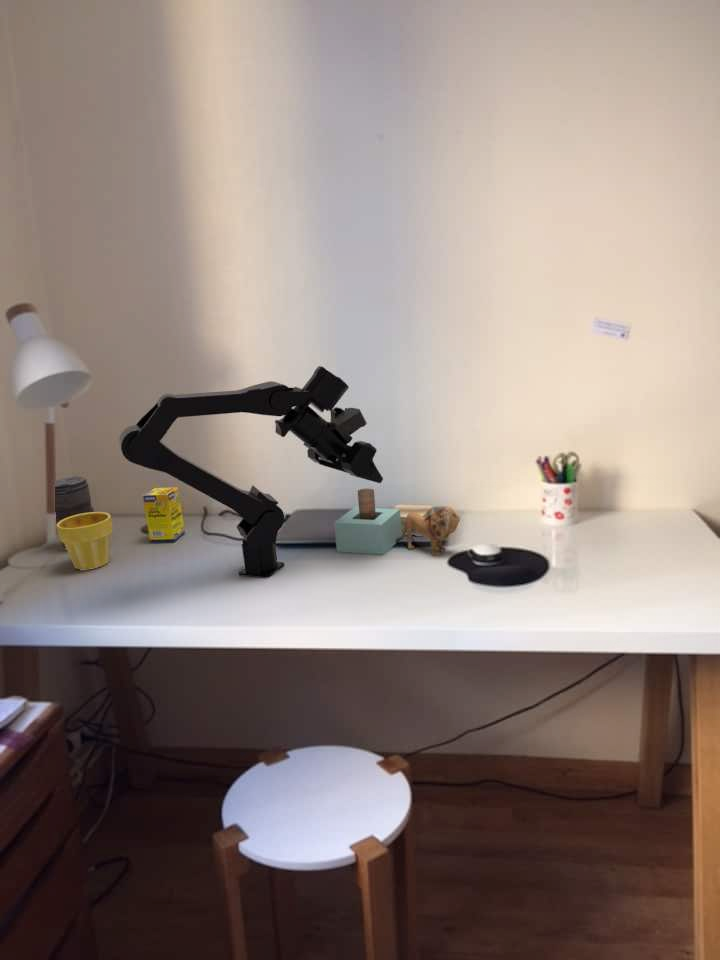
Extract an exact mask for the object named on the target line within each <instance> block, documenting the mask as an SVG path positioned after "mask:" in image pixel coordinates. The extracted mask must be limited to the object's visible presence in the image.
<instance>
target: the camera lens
mask: <svg viewBox="0 0 720 960" xmlns="http://www.w3.org/2000/svg"><path fill="white" fill-rule="evenodd" d="M54 481H55V512H56V519H55V523H56V525H57V523H58V522H59V521H61V520H63V519H65V518H68V517H70V516H74V515H77V514H82V513H89V512H95V511H94V507H93V506H92V503H91V502H92V499H91V494H90V493H91V492H90V488H89V483H88V482H87V480H86V477H84V476H72V477H71V476H70V477H65V478H61V479H57V480H54ZM60 543H62V545H63V548H66V547H65V544H64V543H63V542H61V541H60Z"/></svg>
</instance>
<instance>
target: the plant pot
mask: <svg viewBox="0 0 720 960" xmlns="http://www.w3.org/2000/svg"><path fill="white" fill-rule="evenodd" d="M113 527H114V526H113V520H112V516H111V514H110V513H109V512H103V511H94V512H89V513H82V514H77V515H74V516H70V517H68V518H65V519H63V520H61V521H59V522H58V523H57V524H56V531H57V535H58V539H59V541H60V543H61V542H63V543H64V544H65V547H66V549H67V550H66V551H67V553H68V555H69V557H70V559H71V562H72V565H73V566H74V569H76V568H77V569H90V568H96V567H99V566H102V565H104V566H106V565H107V564H109V562H108V561H110V541H111V533H113V531H114V529H113ZM63 543H62V544H63ZM106 563H107V564H106ZM105 564H106V565H105ZM102 567H103V566H102ZM77 569H76V570H77Z"/></svg>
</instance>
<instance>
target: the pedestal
mask: <svg viewBox="0 0 720 960" xmlns="http://www.w3.org/2000/svg"><path fill="white" fill-rule="evenodd" d="M392 509H400V515H401V528H402V533H403V531H404V526H405V520H406V517H407V515H408V514H410V513H417V514H419V515H420V516H422V517H424V518H427V517H428V516H429V515H430V514H433V513H435V507H434V505H422V504H421V505H417V504H397V505H395V506H394V507H392ZM406 533H407V530H406ZM414 534H419V533H418V532H416V533H414Z"/></svg>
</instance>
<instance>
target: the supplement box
mask: <svg viewBox="0 0 720 960" xmlns="http://www.w3.org/2000/svg"><path fill="white" fill-rule="evenodd" d="M179 490H180V489H179V487H155V488H153V489H152V490H151V491H149V492H147V493H144V494H143V495H142V501H143V507H144V513H145V519H146V525H147V531H148V539H149V542H150V543H151V544H155V543H157V544H158V543H159V544H160V543H163V544H164V543H175V542H176V541H178V539H180V538H181V537H182V536H184V535H185V534H186V531H185V530H186V529H185V526H184V525H185V524H184V518H183V511H182V505H181V498H180V492H179Z"/></svg>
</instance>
